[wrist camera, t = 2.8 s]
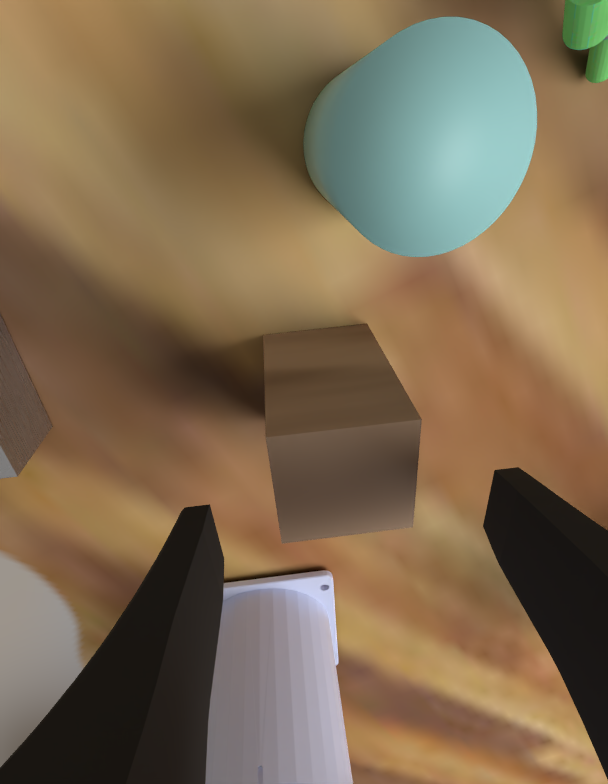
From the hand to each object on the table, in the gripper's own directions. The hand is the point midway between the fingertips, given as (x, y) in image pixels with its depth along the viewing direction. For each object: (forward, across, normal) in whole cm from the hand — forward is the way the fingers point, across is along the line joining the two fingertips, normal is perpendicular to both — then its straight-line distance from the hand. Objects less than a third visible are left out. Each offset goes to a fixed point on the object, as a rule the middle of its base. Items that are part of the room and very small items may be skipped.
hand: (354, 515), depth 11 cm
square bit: (+8, 0, 0) cm, 8 cm away
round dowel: (+8, -2, -8) cm, 11 cm away
